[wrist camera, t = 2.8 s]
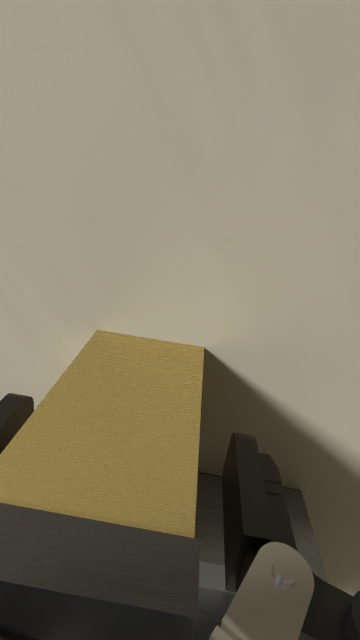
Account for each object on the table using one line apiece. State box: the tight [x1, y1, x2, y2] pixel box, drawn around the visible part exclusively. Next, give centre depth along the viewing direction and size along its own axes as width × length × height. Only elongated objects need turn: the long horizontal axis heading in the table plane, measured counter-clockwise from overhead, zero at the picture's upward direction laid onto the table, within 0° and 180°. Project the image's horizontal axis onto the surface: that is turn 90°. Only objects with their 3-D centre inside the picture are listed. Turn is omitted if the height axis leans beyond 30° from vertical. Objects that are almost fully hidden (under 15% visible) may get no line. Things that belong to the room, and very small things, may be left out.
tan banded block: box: [0, 330, 204, 640], centre depth 10 cm, size 5×5×9 cm
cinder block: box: [192, 473, 327, 640], centre depth 16 cm, size 9×20×4 cm, turn 82°
